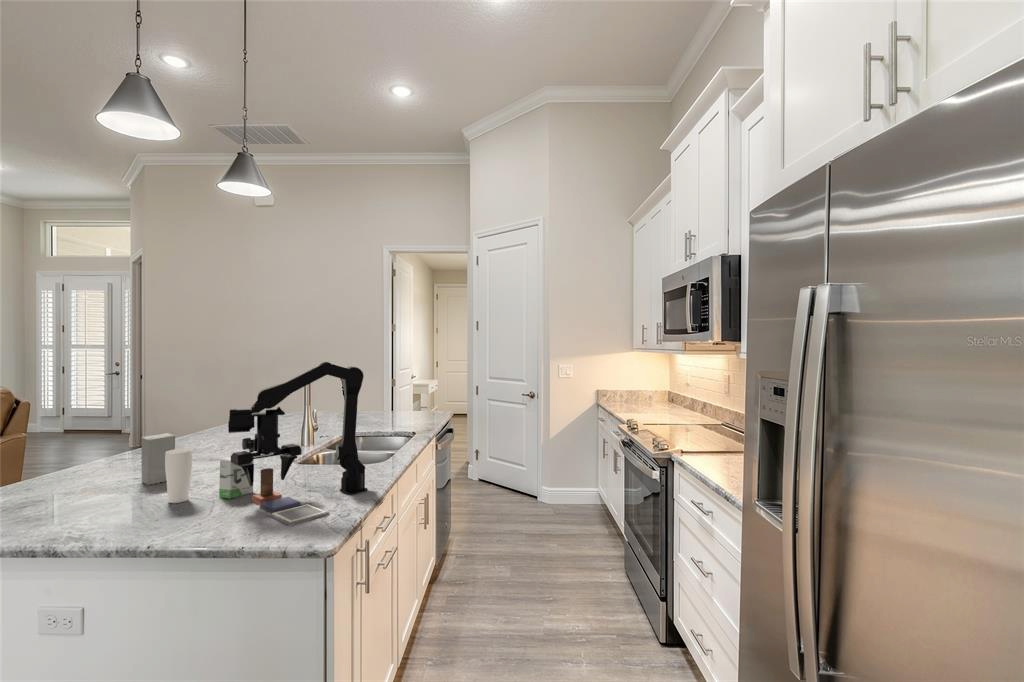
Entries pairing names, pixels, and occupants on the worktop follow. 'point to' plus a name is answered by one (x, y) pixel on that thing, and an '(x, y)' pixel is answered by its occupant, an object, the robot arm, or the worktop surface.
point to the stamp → (266, 488)
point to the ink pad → (280, 504)
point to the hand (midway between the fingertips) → (267, 482)
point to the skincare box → (155, 457)
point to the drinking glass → (178, 474)
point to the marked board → (299, 514)
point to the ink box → (232, 480)
